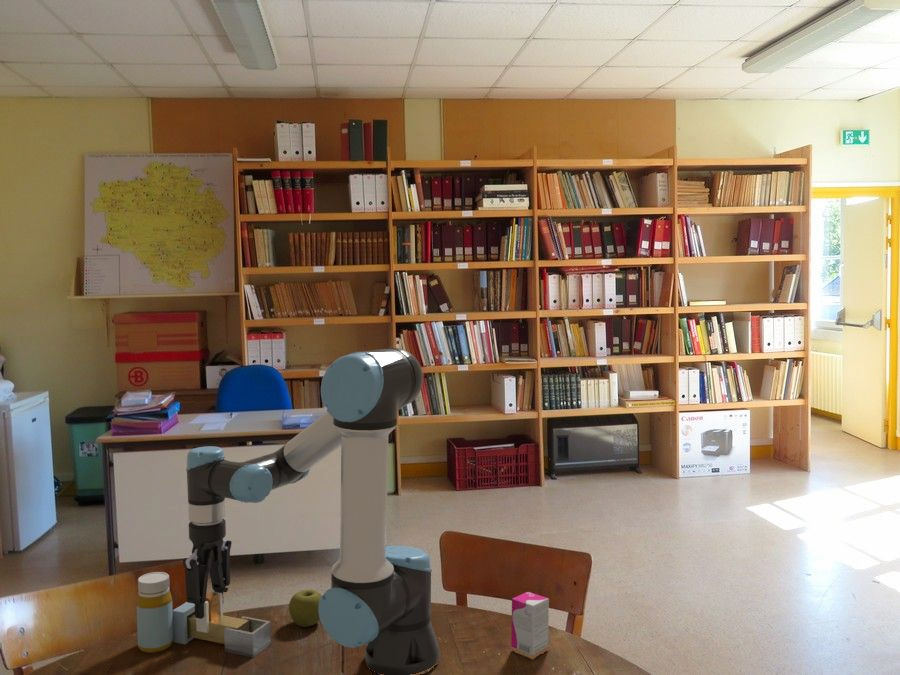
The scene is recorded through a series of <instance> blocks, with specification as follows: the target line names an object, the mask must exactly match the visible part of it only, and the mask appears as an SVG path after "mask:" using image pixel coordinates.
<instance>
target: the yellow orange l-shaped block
mask: <svg viewBox="0 0 900 675" xmlns="http://www.w3.org/2000/svg"><path fill="white" fill-rule="evenodd" d="M211 592H212V591H211ZM211 592H209V591H207V592H206V601H207V602H208V603H209V632H208V633H205V632H200V631H196V617H195V613H194V614H193V615H191V616H190V617H188V618H187V636H188V637H193V638H194V639H198V640H204V641H207V642H212V643H213V642H214V643H218V644H223V645H225V639H224V629H225V628H231V629H236V630H241V631H246V632H249V620H245V619H241V618H239V617H233V616H228V615H224V614H223V615H219V609H218V594H216V593H211Z"/></svg>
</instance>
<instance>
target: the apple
mask: <svg viewBox="0 0 900 675" xmlns="http://www.w3.org/2000/svg"><path fill="white" fill-rule="evenodd" d="M322 596H323V594H322V593H321V592H319V591H318V590H315V589H303V590H300V591H297V592H296V593H294V594H293V595H292V597H291V598H290V601H289V603H288V611H289V615H290V618H291V619H292V621H293V622H294V623H295V625H297V626H299V627H304V628H306V627H307V628H308V627H311V626H314V625H315V624H318V623H319V621H320V617H319V612H318V606H319V601H320V599H321V597H322Z"/></svg>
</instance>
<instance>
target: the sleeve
mask: <svg viewBox="0 0 900 675" xmlns="http://www.w3.org/2000/svg"><path fill="white" fill-rule="evenodd" d="M240 619H245V620H249V632H246V631H241V630H236V629H231V628H225V629H224V639H225V644H224V652H225V653H229V654H234V655H238V656H243V657H246V658H247V657H248V658H252V659H254V658H255V657H256V656H258V655H259V654H260V653H261V652H263V650H265V649H266V648H267V647H269V646H270V645H271V644H272V639H271V638H272V635H271V633H272V632H271V630H272V629H271V627H272V626H271V620H266V619H265V620H264V619H259V618H254V617H249V616H241V617H240Z"/></svg>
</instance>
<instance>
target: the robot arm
mask: <svg viewBox="0 0 900 675" xmlns="http://www.w3.org/2000/svg"><path fill="white" fill-rule="evenodd" d="M423 384H424V374H423V368H422V366H421V364H420V362H419V361H418V359H417V358H416V357H415V356H414V354H412V353H410V352H408V351H407V350H405V349H403V348H400V347H385V348H381V349H373V350H365V351H355V352H351V353H349V354H345V355H343V356H340V357H338V358H337V359H335V360H334V361H333V362H332V363H331V364H330V365H329V366H328V367H327V369H326V370H325V372H324V374H323V377H322V379H321V385H320V397H321V402H322V404H323V406H324V407H326V412H325V413H324V414H322V415H321V416H320V417H318V418H317V419H316V420H315V421H313V422H312V423H311V424H309V425H308V426H306V427H305V428H304V429H303V430H302V431H300V432H299V433H298V434H296V435H295V436H294V437H292V438H291V439H290V440H289V441H287V443H286V444H283V446H281V447H280V448H278V449H277V450H276V451H274V452H272V453H269V454H266V455H262V456H259V457H255V458H252V459H249V460H248V459H247V460H245V461H240V462H239V461H238V462H237V461H233V460H231V461H230V460H226V459H225V453H224V449H223V448H221V447H219V446H215V445H214V446H213V445H212V446H199V447H196V448H192V449H191V450H189V451H188V453H187V456H186V468H185V469H186V470H185V471H186V482H187V487H186V488H187V502H188V503H187V504H188V506H187V508H188V521H189V523H188V539H189V541H191V543H192V549H191V555H190V556H189V557H188V558H187V557H185V558H183V559H182V565H183V567H184V574H185V592H186V595H185V596H186V602H188V603H193V604H195V617H196V631H200V632H205V633H208V632H209V603H208V602H207V601H206V593H207V592H208V591H207V590H208V589H207V588H208V582H209V576H210V582H211V588H212V590H213V591H212V590H211V593H216V594H218V609H219V615H224V593H227V592H228V591H229V590H228V589H229V588H228V587H229V586H230V584H231V550H232V549H231V548H232V540H228V539H224V538H225V537H226V534H227V531H226V530H227V528H226V527H227V525H226V516H227V515H226V514H227V513H226V512H227V511H226V499H231V500H233V501H234V500H235V501H239V502H241V503H247V504H248V503H252V504H253V503H254V504H258V503H261V502H263V501H264V500H265V499H266V498H267V497H269V495H270V494H271V491H273V490H276V489H279V488H281V487H284V486H287V485H292V484H296V483H297V482H299V481H301V480H303V479H305V478H306V477H307V476H308V475H309V473H310V470H311V469H312V468H313V467H315V466H316V465H318V463H320V462H321V461H323V460H324V459H325V458H327V457H328V456H329V455H331V454H333V452H336V450H338V449H339V448H340V447H341V449H340V451H341V452H340V453H341V455H340V510H339V511H340V521H339V522H340V523H339V524H340V526H339V527H340V528H339V529H340V533H339V559H338V560H337V561H336V562H335V563H334V564H333V565H332V567H331V570H330V571H331V576H330V577H331V578H330V588H328V589H326V590H325V592H324V593H323V594H322V597H321V599H320V601H319V606H318V612H319V617H320V620H319V621H320V622H321V625H322V627H323V630H325V631H326V633H328V635H329V637H330V638H331V639H332V640H334V641H335V642H336V643H338V644H339V645H341V646H343V647H346V648H353V649H355V648H359V647H363V646H365V645H366V647H365V652H364V656H365V659H364V660H365V661H366V662H365V661H364V662H365V665H366V664H367V665H366V667H367V666H368V667H369V668H370V669H371V670H373V671H375V672H376V673H379V674H384V675H410V674H416V673H419V672H422V671H425V670H427V669H429V668H431V667H432V666H433V665H435V664H436V663H437V661H438V659H439V660H440V646H439V643H438V639H437V636H436V634H435V631H434V628H433V625H432V622H431V621H432V617H431V616H432V615H431V614H432V606H431V605H432V602H431V601H432V567H431V565H432V564H431V558H430V555H429V554H428V553H427V552H426V551H425V550H424V549H421V548H417V547H413V546H408V545H389V546H387V520H388V519H387V518H388V481H389V480H388V479H389V478H388V477H389V476H388V474H389V473H388V472H389V468H388V467H389V436H390V433H391V432H393V431H394V430H395V429H396V428H397V426H398V411H399V410H401V409H403V408H404V407H405V406H407V405H409V404H410V403H412V402H413V401H415V399H416V398H417V397H418V396H419V394H420V393H421V390H422V388H423ZM368 667H367V668H368ZM369 668H368V669H369ZM370 669H369V670H370ZM371 670H370V671H371ZM373 671H372V672H373ZM376 673H375V674H376ZM379 674H378V675H379Z"/></svg>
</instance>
